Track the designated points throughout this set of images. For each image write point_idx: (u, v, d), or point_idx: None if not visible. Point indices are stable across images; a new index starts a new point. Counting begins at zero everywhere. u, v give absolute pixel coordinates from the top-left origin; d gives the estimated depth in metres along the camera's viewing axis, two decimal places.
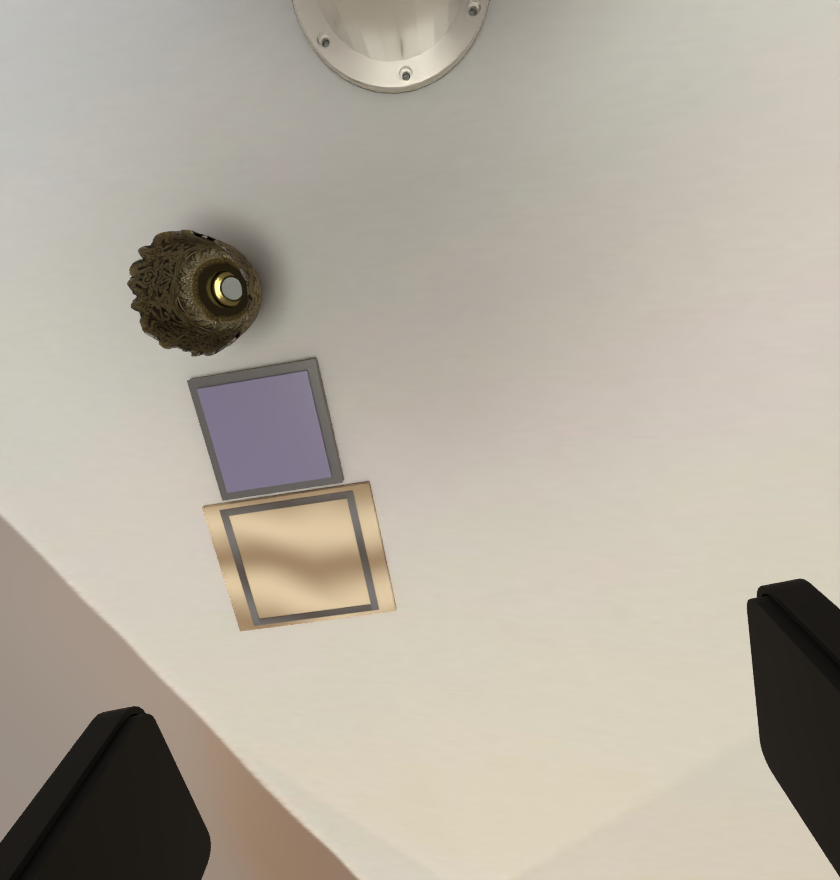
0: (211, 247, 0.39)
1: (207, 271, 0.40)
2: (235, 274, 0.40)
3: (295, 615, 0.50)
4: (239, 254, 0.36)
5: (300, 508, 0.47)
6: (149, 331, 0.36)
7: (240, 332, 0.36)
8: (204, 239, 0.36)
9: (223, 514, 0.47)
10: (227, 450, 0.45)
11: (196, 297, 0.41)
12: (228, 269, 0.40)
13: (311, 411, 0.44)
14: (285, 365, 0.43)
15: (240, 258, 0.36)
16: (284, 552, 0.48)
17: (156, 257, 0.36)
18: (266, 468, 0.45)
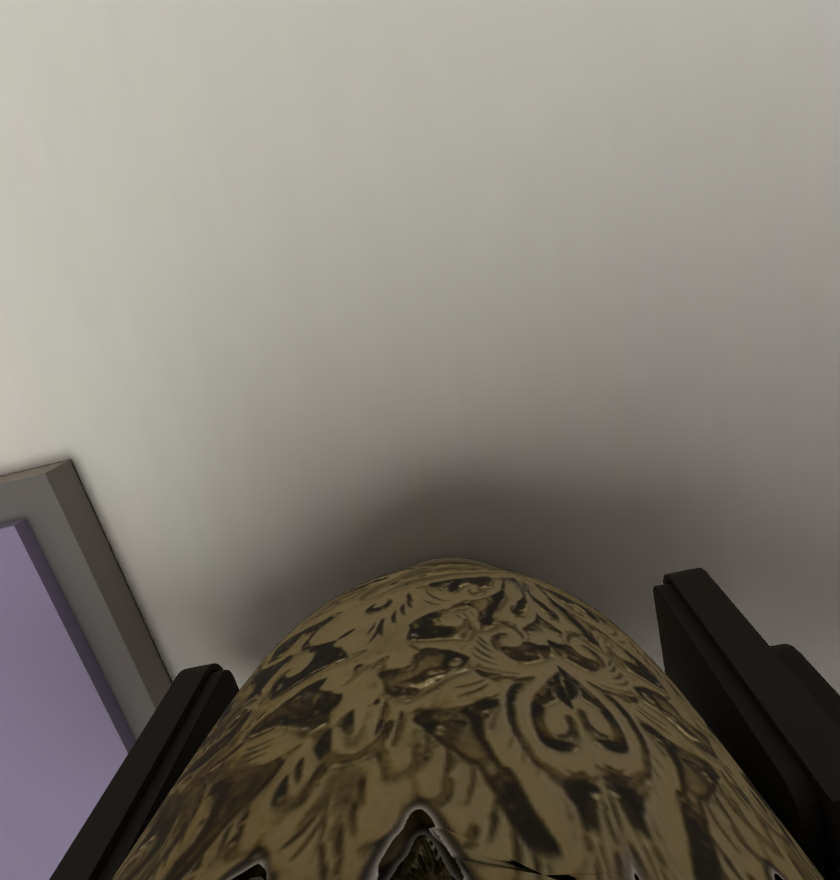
0: None
1: None
2: None
3: None
4: None
5: None
6: None
7: None
8: None
9: None
10: None
11: None
12: None
13: None
14: None
15: None
16: None
17: None
18: None
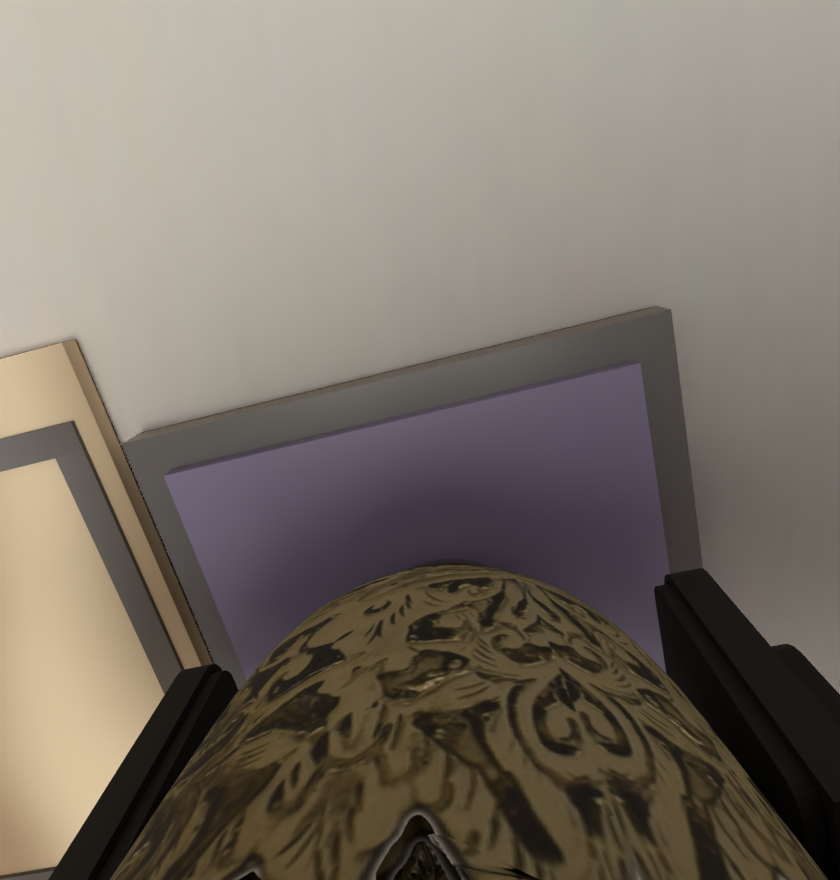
0: None
1: None
2: None
3: None
4: None
5: None
6: None
7: None
8: None
9: (55, 434, 0.11)
10: (361, 483, 0.10)
11: None
12: None
13: None
14: None
15: None
16: None
17: None
18: None
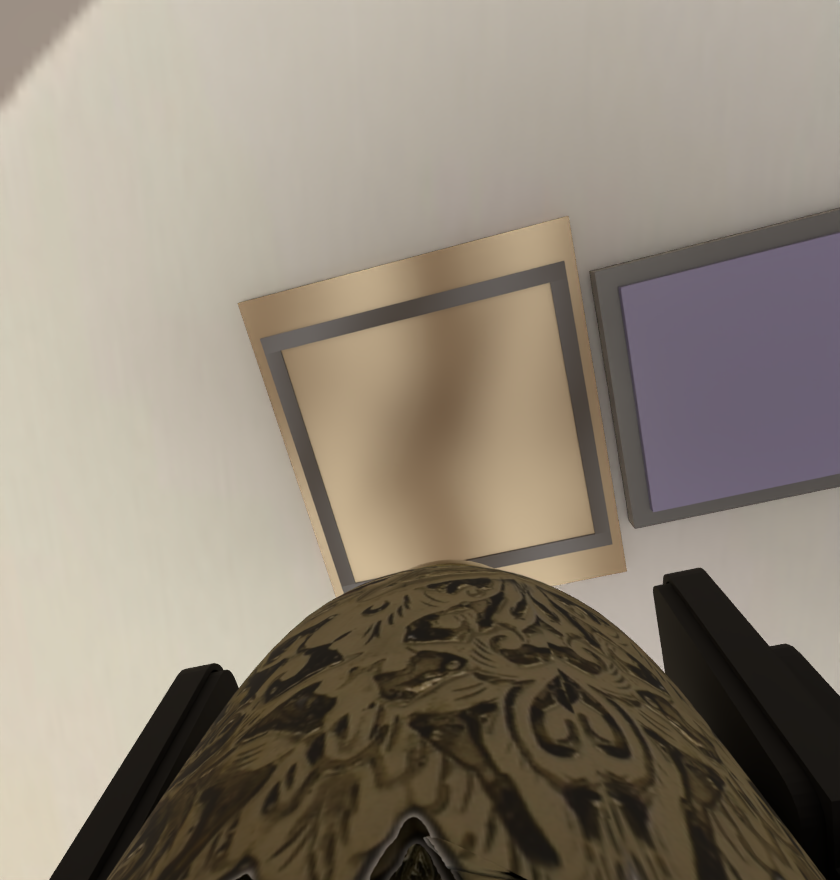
0: None
1: None
2: None
3: (304, 432, 0.22)
4: None
5: (570, 443, 0.22)
6: None
7: None
8: None
9: (551, 269, 0.20)
10: (727, 291, 0.20)
11: None
12: None
13: (800, 472, 0.21)
14: None
15: None
16: (460, 408, 0.22)
17: None
18: (678, 379, 0.20)
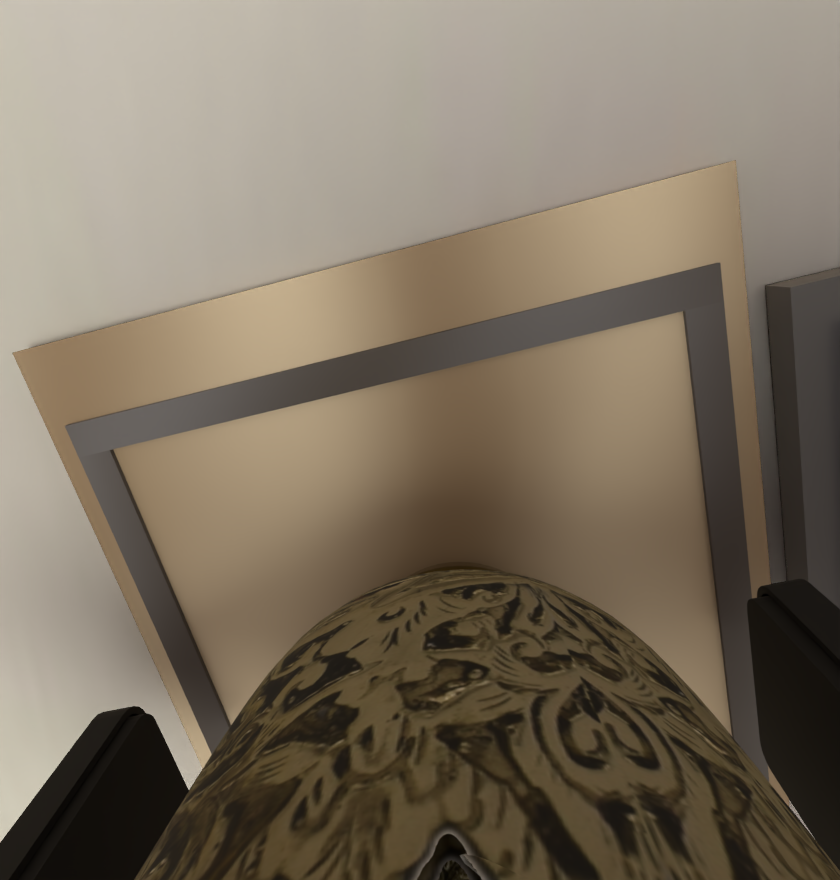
0: None
1: None
2: None
3: (172, 604, 0.11)
4: None
5: (703, 628, 0.11)
6: None
7: None
8: None
9: (688, 280, 0.09)
10: None
11: None
12: None
13: None
14: None
15: None
16: (483, 561, 0.11)
17: None
18: None
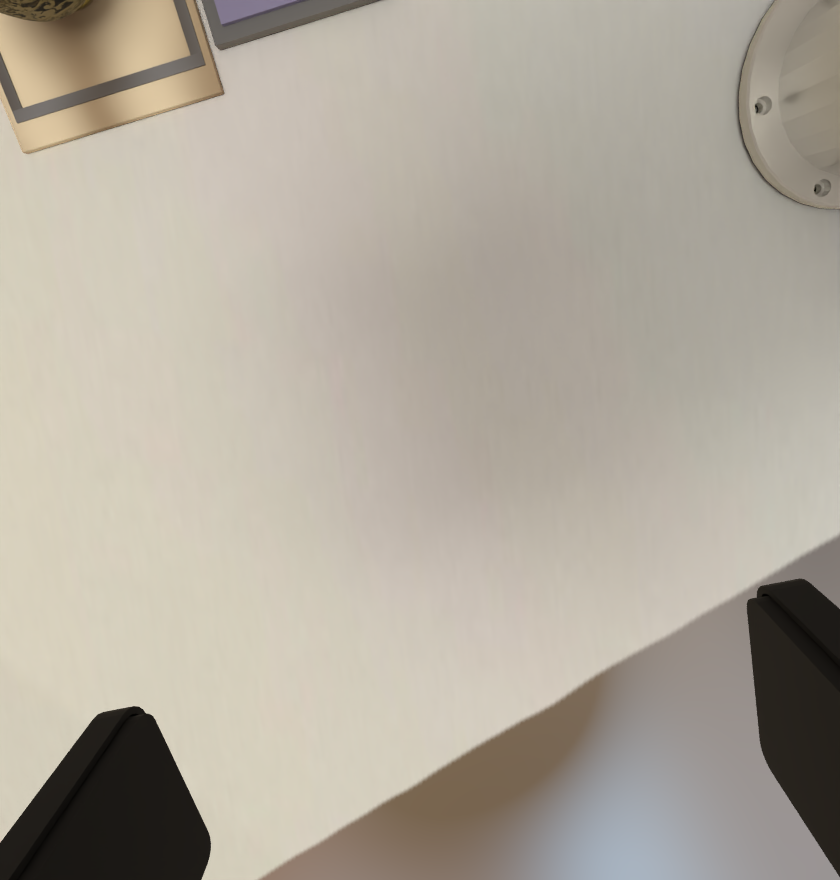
0: None
1: None
2: None
3: None
4: None
5: None
6: None
7: None
8: None
9: None
10: None
11: None
12: None
13: None
14: None
15: None
16: None
17: None
18: None
